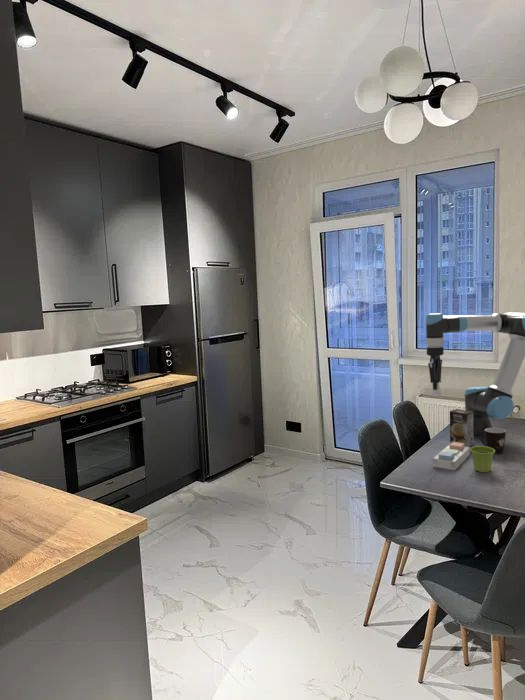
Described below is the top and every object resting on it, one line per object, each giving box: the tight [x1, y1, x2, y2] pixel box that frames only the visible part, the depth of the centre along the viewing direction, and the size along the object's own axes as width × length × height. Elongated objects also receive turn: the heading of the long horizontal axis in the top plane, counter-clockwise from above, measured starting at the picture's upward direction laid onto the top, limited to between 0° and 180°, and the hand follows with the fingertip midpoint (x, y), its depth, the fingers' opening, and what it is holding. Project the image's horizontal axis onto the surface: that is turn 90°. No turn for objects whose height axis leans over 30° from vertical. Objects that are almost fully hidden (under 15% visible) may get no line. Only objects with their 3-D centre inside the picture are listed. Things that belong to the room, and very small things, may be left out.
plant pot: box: [470, 445, 495, 473], centre depth 208 cm, size 9×9×9 cm
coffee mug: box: [480, 427, 507, 455], centre depth 229 cm, size 12×9×10 cm
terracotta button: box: [450, 442, 464, 451], centre depth 227 cm, size 5×5×3 cm
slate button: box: [437, 450, 454, 461], centre depth 216 cm, size 5×5×3 cm
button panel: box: [432, 444, 471, 471], centre depth 222 cm, size 22×9×4 cm, turn 143°
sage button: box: [445, 449, 460, 456], centre depth 222 cm, size 5×5×3 cm
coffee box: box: [449, 408, 475, 447], centre depth 243 cm, size 9×6×16 cm
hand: (436, 396), depth 240 cm, fingers closed
